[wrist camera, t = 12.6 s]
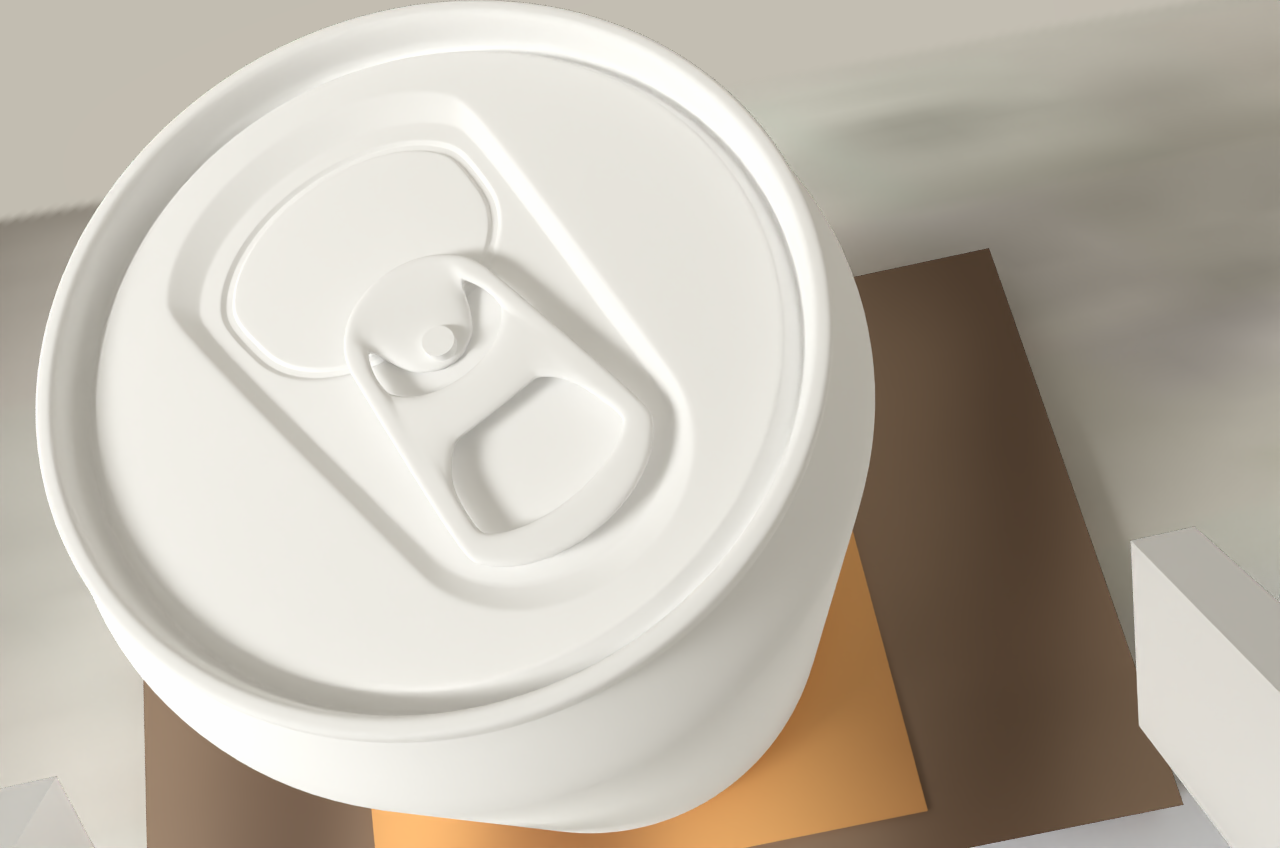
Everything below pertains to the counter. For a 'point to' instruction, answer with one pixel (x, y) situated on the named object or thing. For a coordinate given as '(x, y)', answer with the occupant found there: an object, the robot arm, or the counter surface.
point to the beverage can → (464, 419)
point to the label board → (858, 643)
